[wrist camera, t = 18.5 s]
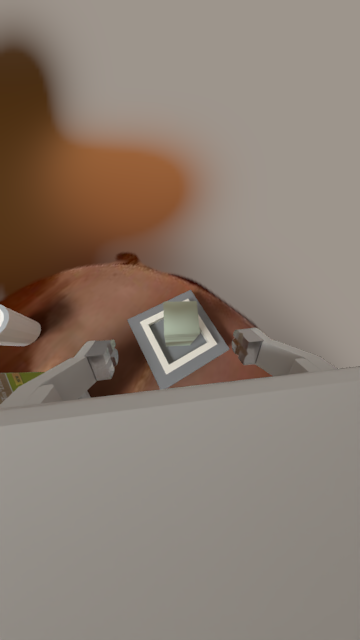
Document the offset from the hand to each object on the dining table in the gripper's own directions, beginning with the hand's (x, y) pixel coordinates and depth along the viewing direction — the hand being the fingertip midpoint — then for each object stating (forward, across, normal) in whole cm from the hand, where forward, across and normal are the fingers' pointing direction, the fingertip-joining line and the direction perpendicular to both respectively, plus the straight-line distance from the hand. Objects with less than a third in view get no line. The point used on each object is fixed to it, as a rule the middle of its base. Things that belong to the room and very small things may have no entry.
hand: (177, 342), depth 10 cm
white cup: (+21, +30, +9) cm, 37 cm away
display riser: (+18, -2, +12) cm, 21 cm away
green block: (+16, -1, +10) cm, 18 cm away
